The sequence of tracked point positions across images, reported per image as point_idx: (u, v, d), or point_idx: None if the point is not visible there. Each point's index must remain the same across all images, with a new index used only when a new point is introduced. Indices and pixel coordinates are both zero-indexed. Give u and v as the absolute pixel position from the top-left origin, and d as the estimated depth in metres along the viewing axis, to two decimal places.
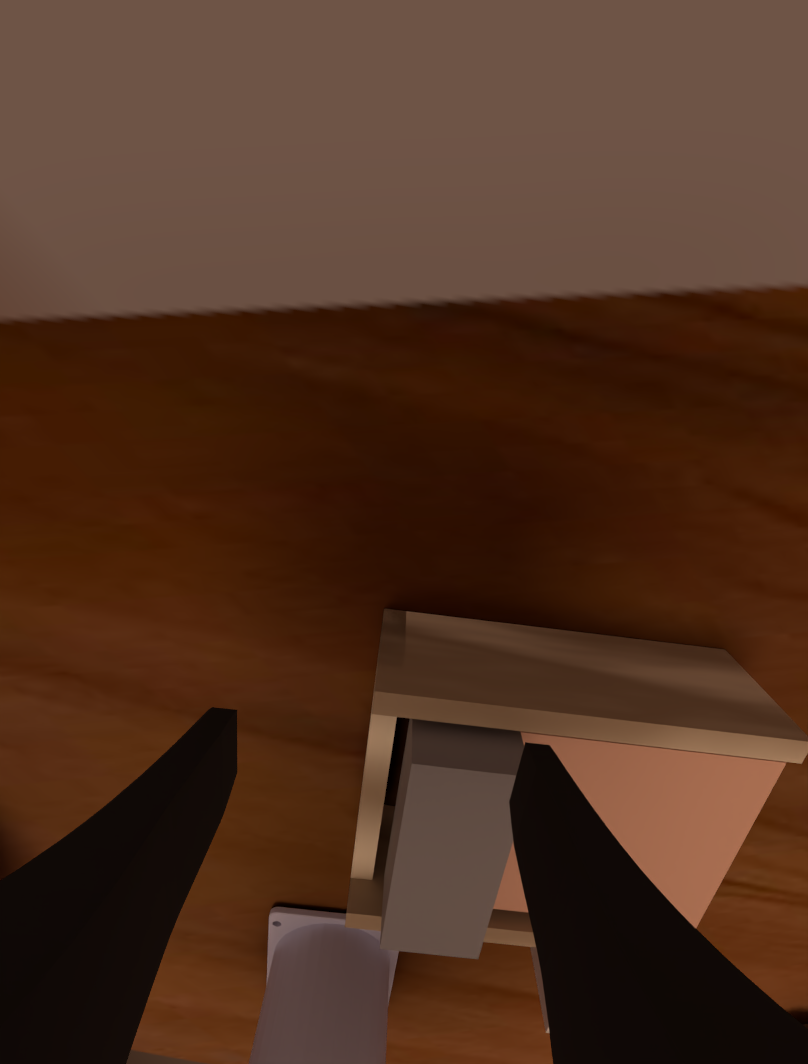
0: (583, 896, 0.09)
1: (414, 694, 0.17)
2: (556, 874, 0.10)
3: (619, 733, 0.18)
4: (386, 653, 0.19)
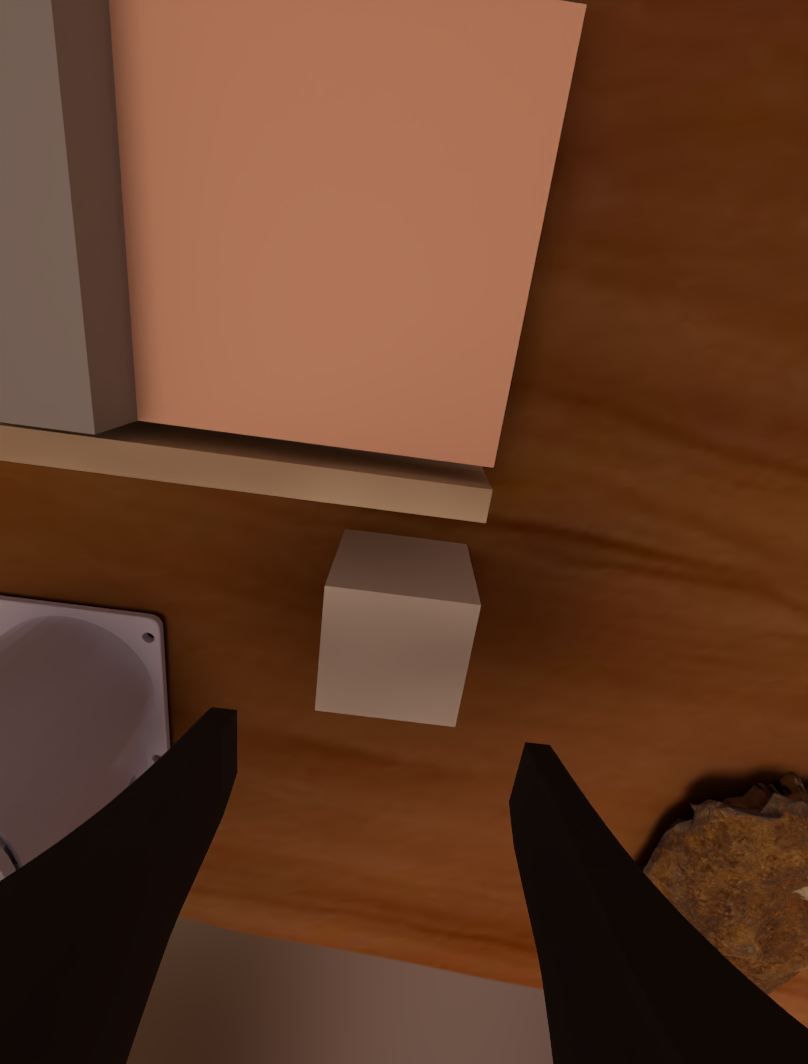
0: (583, 896, 0.09)
1: None
2: (556, 875, 0.10)
3: None
4: None
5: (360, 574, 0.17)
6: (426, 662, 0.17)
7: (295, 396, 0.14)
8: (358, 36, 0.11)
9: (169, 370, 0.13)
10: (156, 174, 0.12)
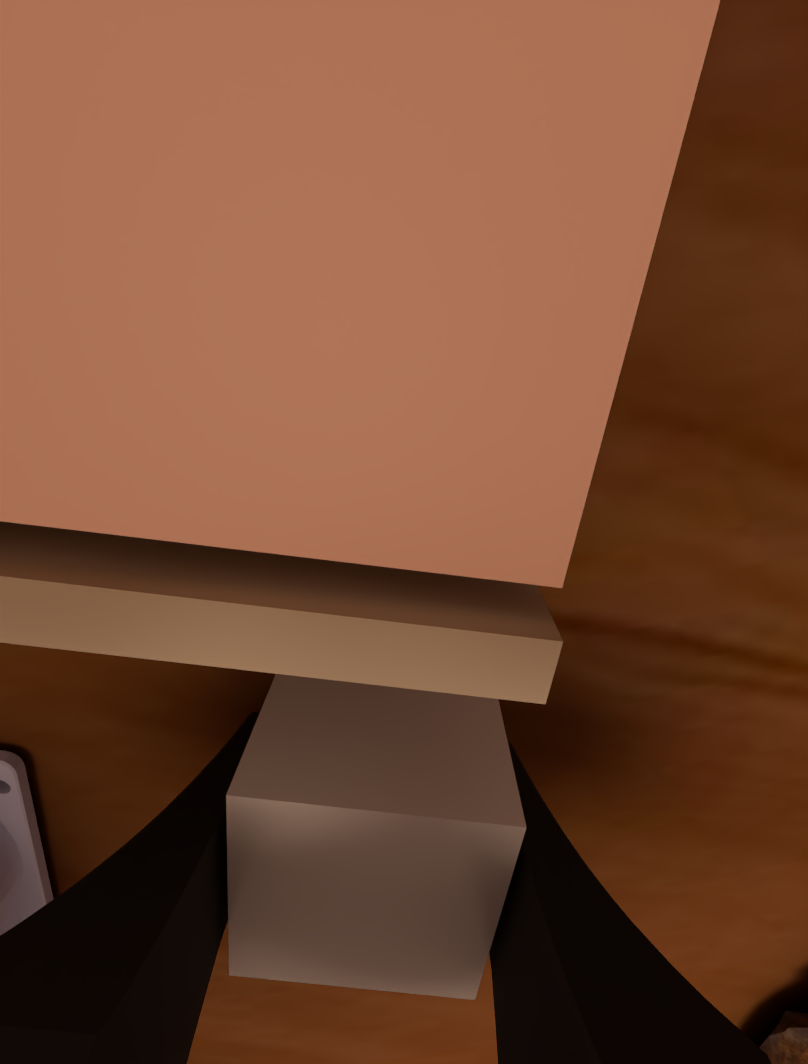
0: (525, 890, 0.09)
1: None
2: None
3: None
4: None
5: (301, 749, 0.09)
6: (424, 911, 0.09)
7: (121, 442, 0.06)
8: None
9: None
10: None
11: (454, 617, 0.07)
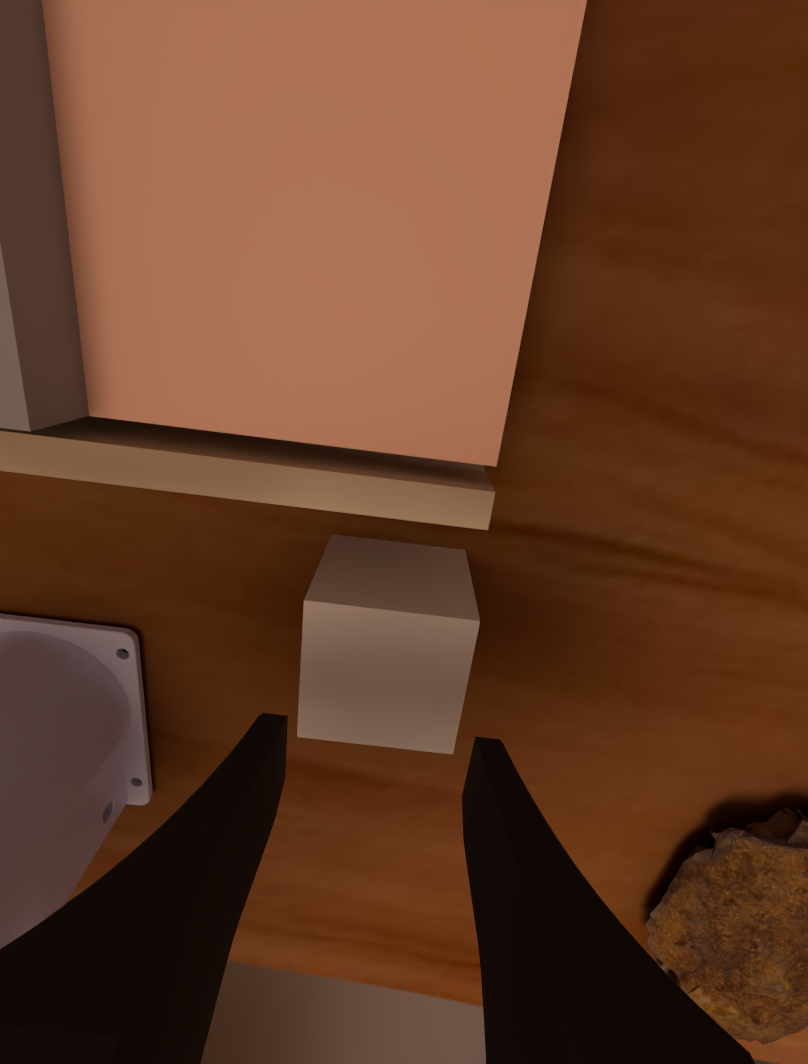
0: (513, 889, 0.09)
1: None
2: (494, 868, 0.10)
3: None
4: None
5: (345, 585, 0.15)
6: (420, 684, 0.15)
7: (268, 386, 0.12)
8: None
9: (122, 357, 0.12)
10: (97, 125, 0.10)
11: (438, 482, 0.12)
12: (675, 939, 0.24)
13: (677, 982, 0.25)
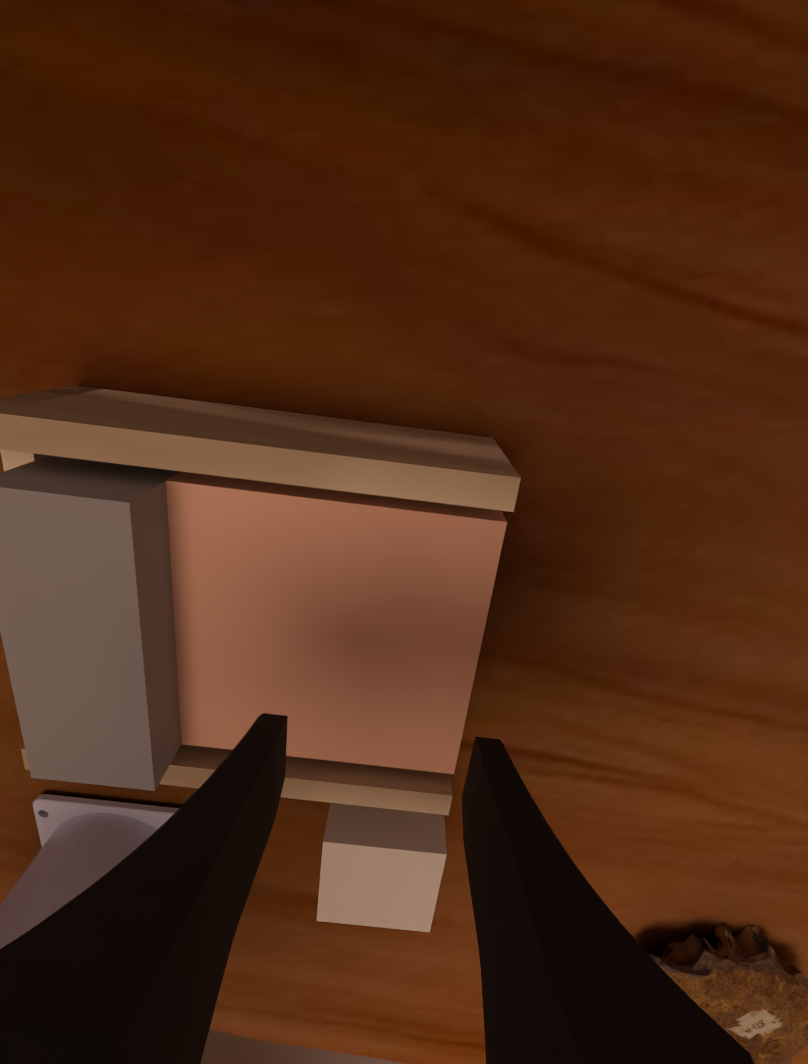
0: (513, 889, 0.09)
1: (1, 412, 0.14)
2: (494, 868, 0.10)
3: (274, 469, 0.14)
4: (18, 397, 0.16)
5: (351, 819, 0.21)
6: (405, 890, 0.21)
7: (301, 731, 0.18)
8: (345, 536, 0.15)
9: (206, 715, 0.18)
10: (199, 607, 0.16)
11: (415, 784, 0.19)
12: None
13: None
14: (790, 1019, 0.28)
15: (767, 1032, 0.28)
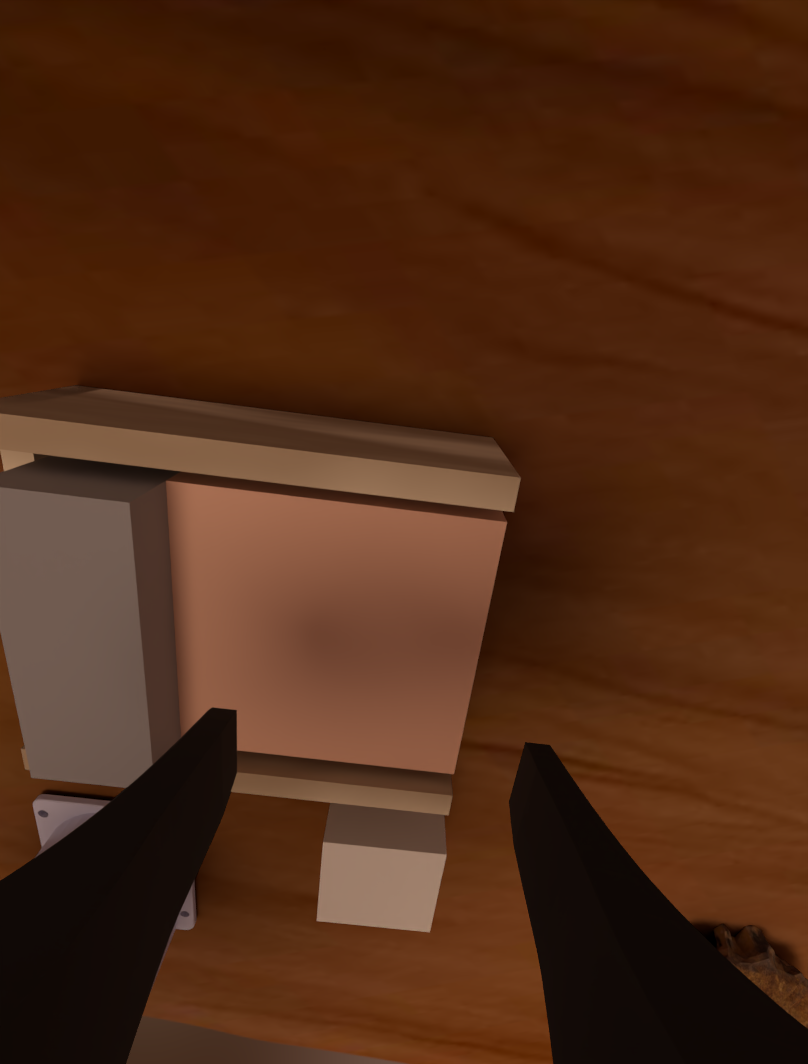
0: (583, 896, 0.09)
1: (1, 412, 0.14)
2: (556, 874, 0.10)
3: (274, 469, 0.14)
4: (18, 397, 0.16)
5: (351, 819, 0.21)
6: (405, 890, 0.21)
7: (301, 731, 0.18)
8: (345, 536, 0.15)
9: None
10: (199, 607, 0.16)
11: (415, 784, 0.19)
12: None
13: None
14: None
15: None
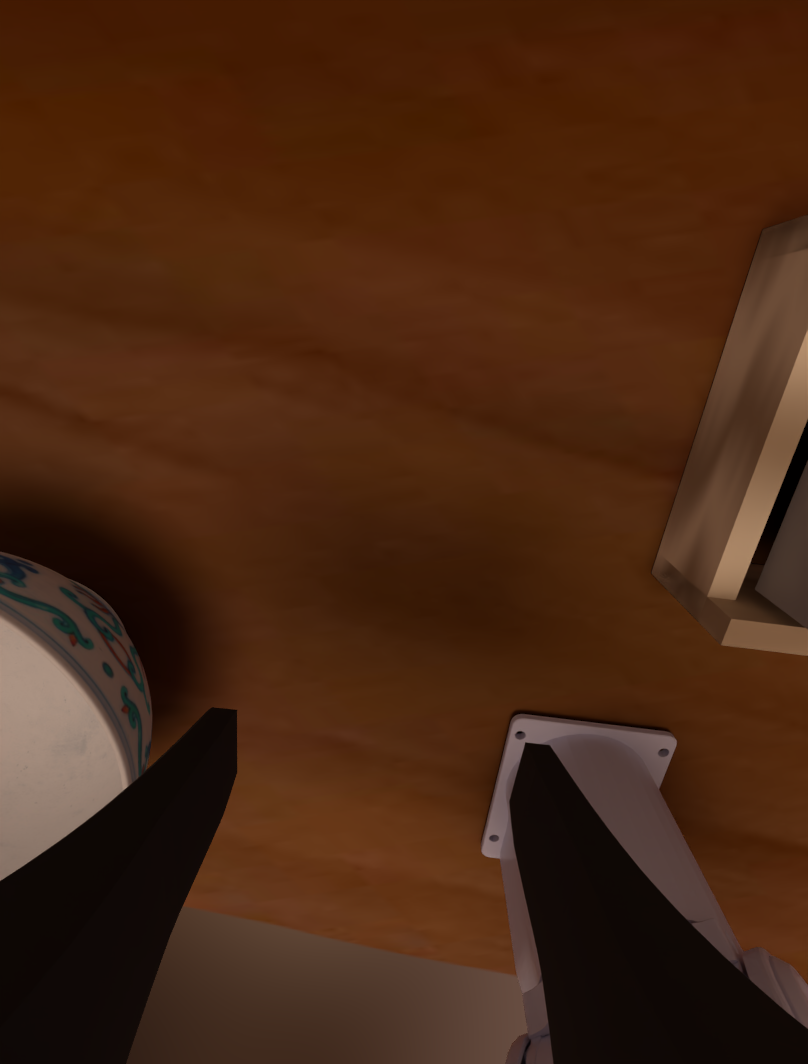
0: (583, 896, 0.09)
1: None
2: (556, 875, 0.10)
3: None
4: None
5: None
6: None
7: None
8: None
9: None
10: None
11: None
12: None
13: None
14: None
15: None
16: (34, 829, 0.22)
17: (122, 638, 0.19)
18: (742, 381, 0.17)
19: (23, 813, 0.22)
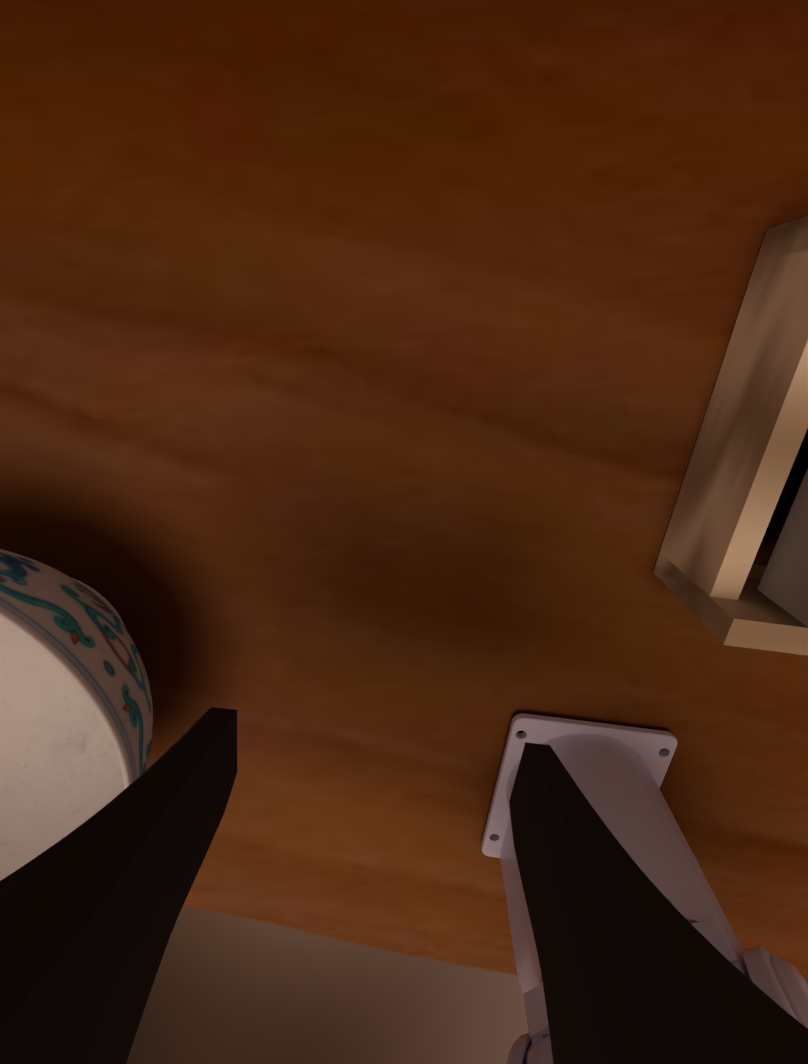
0: (583, 896, 0.09)
1: None
2: (557, 875, 0.10)
3: None
4: None
5: None
6: None
7: None
8: None
9: None
10: None
11: None
12: None
13: None
14: None
15: None
16: (34, 827, 0.22)
17: (123, 636, 0.19)
18: (745, 380, 0.17)
19: (23, 811, 0.22)
